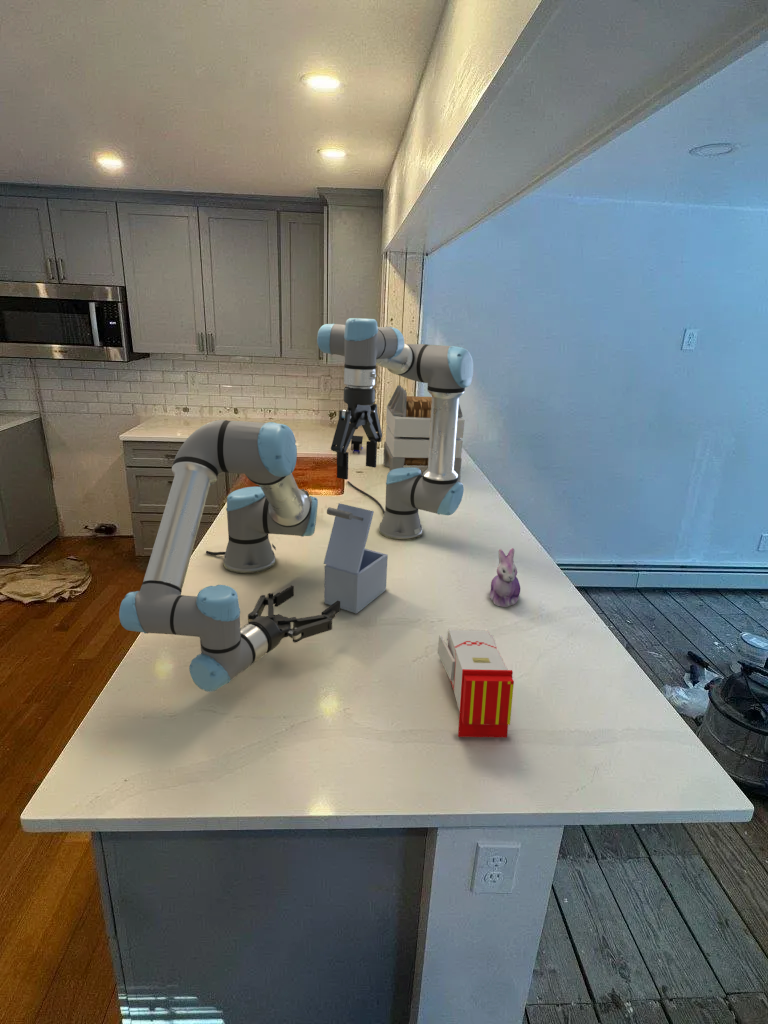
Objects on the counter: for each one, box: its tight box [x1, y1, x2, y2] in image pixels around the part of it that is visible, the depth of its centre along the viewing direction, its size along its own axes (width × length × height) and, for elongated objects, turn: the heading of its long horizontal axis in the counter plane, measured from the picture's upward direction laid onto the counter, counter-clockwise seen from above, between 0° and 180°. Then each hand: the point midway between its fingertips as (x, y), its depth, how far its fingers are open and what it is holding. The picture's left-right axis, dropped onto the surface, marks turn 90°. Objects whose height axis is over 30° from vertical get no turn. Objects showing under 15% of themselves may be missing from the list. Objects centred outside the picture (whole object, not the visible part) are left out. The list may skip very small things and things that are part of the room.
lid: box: [323, 502, 375, 574], centre depth 142 cm, size 16×10×8 cm
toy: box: [437, 628, 515, 738], centre depth 117 cm, size 12×13×30 cm
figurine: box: [489, 547, 521, 608], centre depth 154 cm, size 9×10×15 cm
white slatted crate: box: [383, 384, 465, 483], centre depth 268 cm, size 34×33×41 cm
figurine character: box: [350, 435, 364, 454], centre depth 309 cm, size 7×8×15 cm
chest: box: [323, 548, 389, 615], centre depth 154 cm, size 16×10×11 cm, turn 151°
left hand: (315, 597), depth 137 cm, fingers open, 13 cm apart
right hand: (357, 472), depth 142 cm, fingers open, 13 cm apart
